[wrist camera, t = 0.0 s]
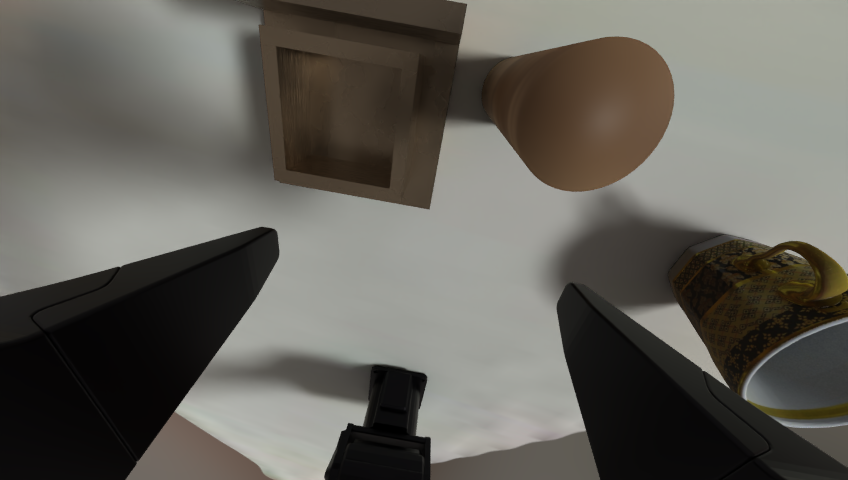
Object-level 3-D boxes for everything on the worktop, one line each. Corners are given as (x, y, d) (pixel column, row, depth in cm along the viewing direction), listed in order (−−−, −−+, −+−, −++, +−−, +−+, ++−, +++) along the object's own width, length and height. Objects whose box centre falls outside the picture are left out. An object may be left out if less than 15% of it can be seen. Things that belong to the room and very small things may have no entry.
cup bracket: (429, 206, 24) (421, 252, 18) (283, 180, 24) (225, 217, 18) (462, 26, 18) (467, 4, 12) (266, -10, 18) (172, -50, 12)
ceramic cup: (790, 288, 25) (969, 405, 16) (659, 328, 28) (750, 442, 20) (778, 155, 20) (1026, 220, 11) (621, 221, 23) (720, 311, 15)
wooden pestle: (532, 129, 21) (627, 201, 9) (475, 119, 20) (501, 179, 9) (553, 63, 19) (708, 52, 7) (490, 51, 18) (547, 22, 7)
